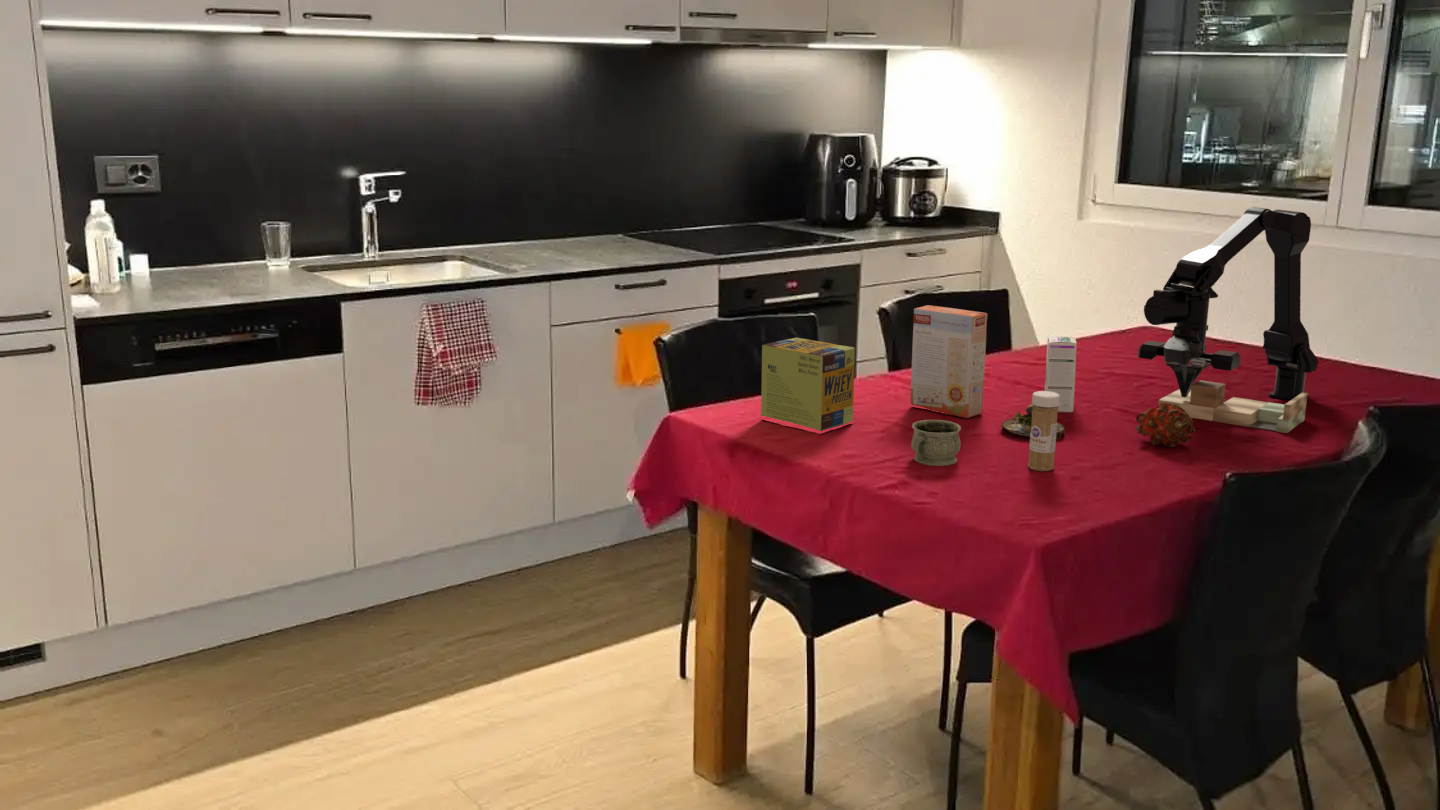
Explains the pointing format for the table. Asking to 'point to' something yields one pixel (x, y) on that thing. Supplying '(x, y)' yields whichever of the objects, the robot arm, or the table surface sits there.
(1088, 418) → the table surface
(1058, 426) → the plate with green herbs
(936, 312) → the cracker box
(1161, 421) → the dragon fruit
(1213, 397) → the walnut block
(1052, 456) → the sprinkles bottle
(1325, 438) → the table surface
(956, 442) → the vessel
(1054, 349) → the syrup box
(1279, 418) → the trap deck
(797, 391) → the protein box
